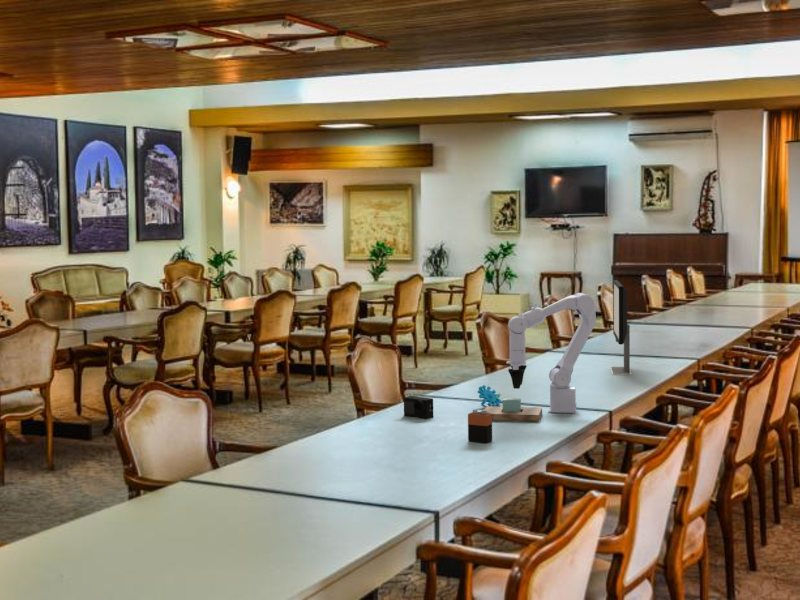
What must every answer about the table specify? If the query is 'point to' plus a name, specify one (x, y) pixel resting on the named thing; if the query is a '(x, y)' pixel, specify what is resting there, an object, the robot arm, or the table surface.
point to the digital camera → (418, 407)
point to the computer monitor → (621, 326)
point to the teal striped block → (511, 405)
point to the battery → (480, 426)
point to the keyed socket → (515, 414)
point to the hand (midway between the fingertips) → (517, 386)
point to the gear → (489, 396)
